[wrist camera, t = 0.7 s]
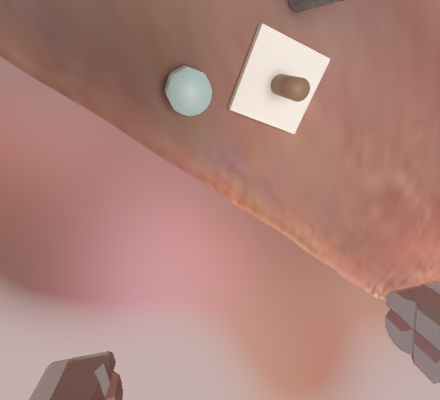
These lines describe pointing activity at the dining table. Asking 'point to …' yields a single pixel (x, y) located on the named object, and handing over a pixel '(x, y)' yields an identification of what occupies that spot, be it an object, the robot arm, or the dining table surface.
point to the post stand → (277, 80)
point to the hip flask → (308, 4)
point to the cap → (188, 91)
